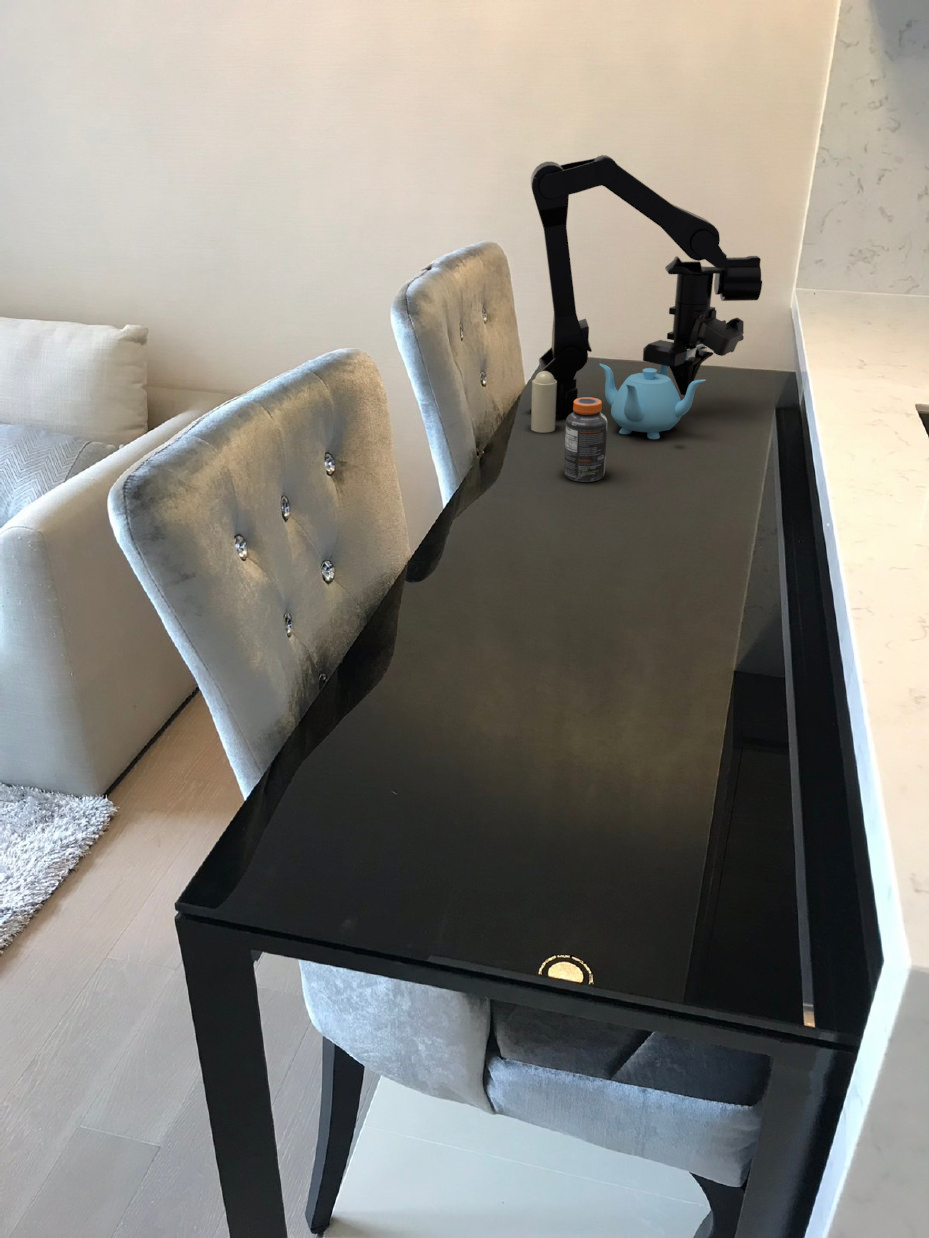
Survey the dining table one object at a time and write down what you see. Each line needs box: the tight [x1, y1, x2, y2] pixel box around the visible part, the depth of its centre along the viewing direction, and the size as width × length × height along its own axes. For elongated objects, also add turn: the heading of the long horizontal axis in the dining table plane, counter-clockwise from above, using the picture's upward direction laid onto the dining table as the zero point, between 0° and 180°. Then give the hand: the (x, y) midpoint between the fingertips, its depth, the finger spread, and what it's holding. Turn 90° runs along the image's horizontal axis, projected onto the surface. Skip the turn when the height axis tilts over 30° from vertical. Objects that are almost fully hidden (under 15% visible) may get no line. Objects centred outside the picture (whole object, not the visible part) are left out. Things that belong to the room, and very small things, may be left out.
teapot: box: [599, 363, 707, 440], centre depth 162 cm, size 13×13×10 cm
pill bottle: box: [563, 396, 608, 483], centre depth 144 cm, size 6×6×11 cm
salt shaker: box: [530, 371, 557, 434], centre depth 163 cm, size 4×4×10 cm
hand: (684, 394), depth 171 cm, fingers closed
